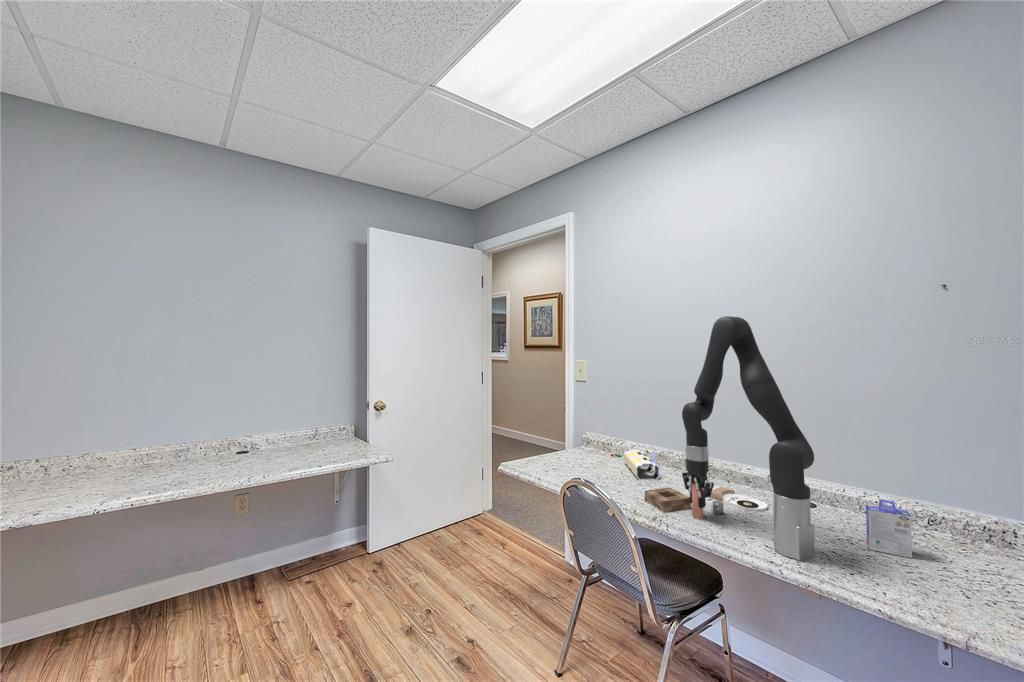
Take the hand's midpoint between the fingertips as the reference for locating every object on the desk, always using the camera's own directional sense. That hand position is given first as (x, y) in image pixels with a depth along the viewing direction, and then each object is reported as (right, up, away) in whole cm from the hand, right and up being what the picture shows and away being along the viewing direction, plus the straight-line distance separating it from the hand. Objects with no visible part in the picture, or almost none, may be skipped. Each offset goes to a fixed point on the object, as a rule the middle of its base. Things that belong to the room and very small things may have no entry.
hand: (697, 505), depth 149 cm
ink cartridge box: (+46, -4, -25) cm, 53 cm away
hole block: (-7, -4, +12) cm, 14 cm away
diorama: (-4, -5, +53) cm, 53 cm away
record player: (+22, -5, +13) cm, 26 cm away
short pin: (+9, -4, +3) cm, 10 cm away
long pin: (0, -4, 0) cm, 4 cm away
